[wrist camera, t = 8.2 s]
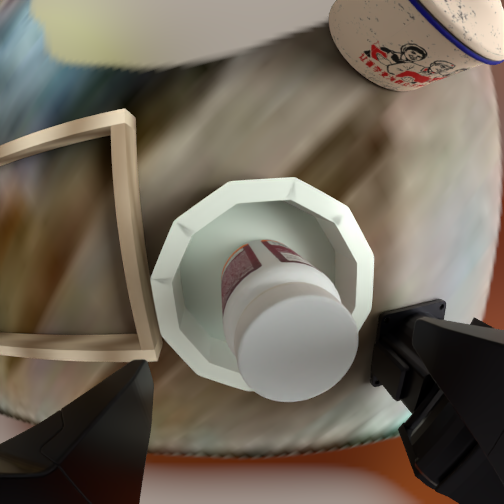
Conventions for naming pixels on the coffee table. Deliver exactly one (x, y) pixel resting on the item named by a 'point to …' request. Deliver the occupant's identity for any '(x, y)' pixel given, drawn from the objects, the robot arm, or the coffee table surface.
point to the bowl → (235, 235)
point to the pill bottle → (284, 322)
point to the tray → (131, 246)
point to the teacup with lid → (417, 38)
